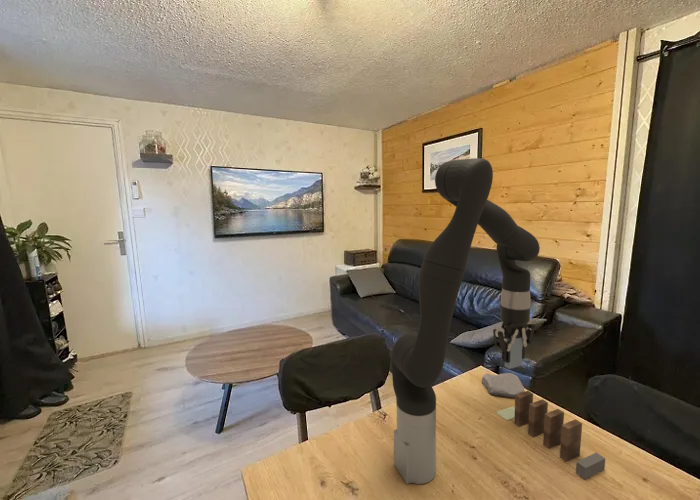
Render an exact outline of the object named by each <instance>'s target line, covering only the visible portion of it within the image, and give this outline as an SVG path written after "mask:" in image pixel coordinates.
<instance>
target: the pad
mask: <svg viewBox="0 0 700 500" xmlns="http://www.w3.org/2000/svg"><path fill="white" fill-rule="evenodd" d="M495 413H496V414H498V415H499V416H500V417H501V418H503V420H505V421H510V420H514V417H515V405H512V406H510V407H507V408H504V409H502V410H501V409H500V410H498V411H495Z"/></svg>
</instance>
